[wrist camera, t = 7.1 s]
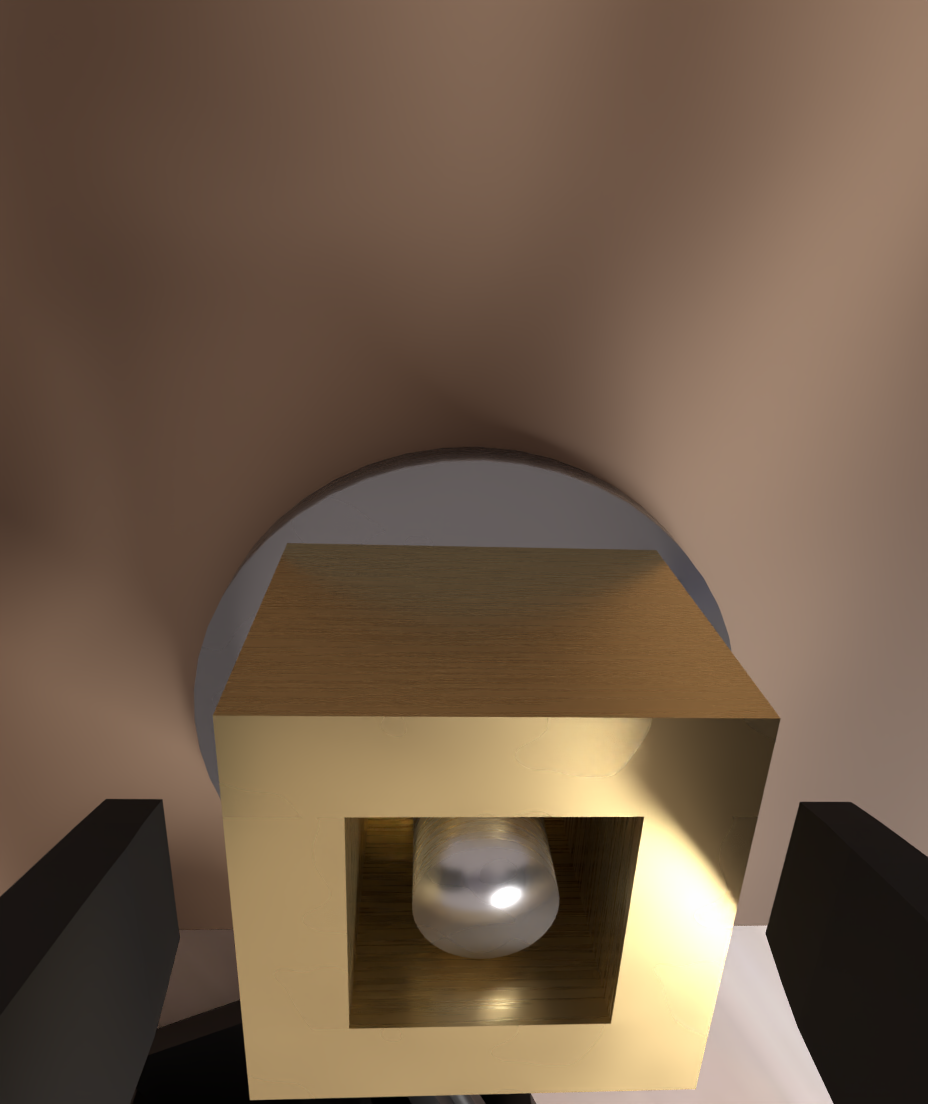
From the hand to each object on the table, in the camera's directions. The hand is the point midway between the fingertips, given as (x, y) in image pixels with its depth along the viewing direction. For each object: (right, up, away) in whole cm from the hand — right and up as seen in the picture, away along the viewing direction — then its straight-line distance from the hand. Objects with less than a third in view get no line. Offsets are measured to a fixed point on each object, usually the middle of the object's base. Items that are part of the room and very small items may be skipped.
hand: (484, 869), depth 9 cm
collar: (0, +1, +3) cm, 3 cm away
